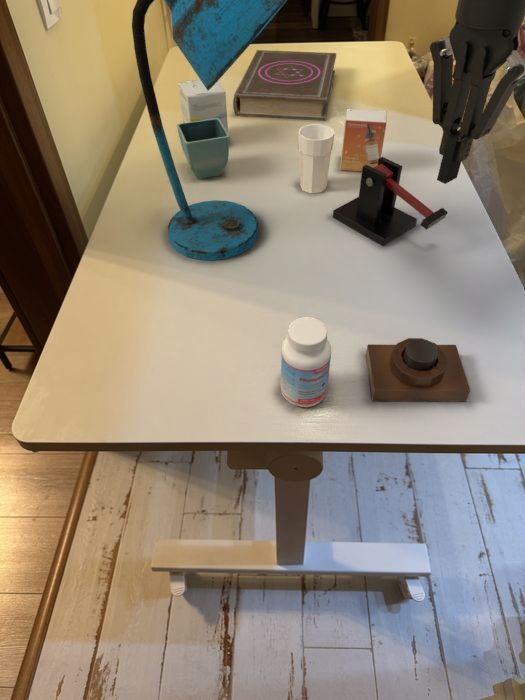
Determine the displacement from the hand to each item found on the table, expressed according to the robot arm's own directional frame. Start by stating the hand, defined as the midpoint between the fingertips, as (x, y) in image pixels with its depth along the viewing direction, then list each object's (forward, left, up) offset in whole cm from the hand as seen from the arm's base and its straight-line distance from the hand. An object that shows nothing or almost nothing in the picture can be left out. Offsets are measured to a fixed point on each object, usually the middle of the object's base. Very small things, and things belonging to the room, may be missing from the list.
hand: (446, 178), depth 74 cm
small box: (+22, -26, -16) cm, 37 cm away
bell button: (-6, +24, -12) cm, 28 cm away
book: (+53, -53, -16) cm, 76 cm away
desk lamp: (+34, +8, -16) cm, 38 cm away
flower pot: (+49, -9, -16) cm, 52 cm away
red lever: (+7, -6, -9) cm, 13 cm away
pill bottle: (+6, +33, -16) cm, 37 cm away
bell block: (-6, +24, -15) cm, 29 cm away
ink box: (+57, -21, -16) cm, 62 cm away
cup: (+27, -14, -16) cm, 34 cm away
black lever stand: (+12, -8, -15) cm, 21 cm away
